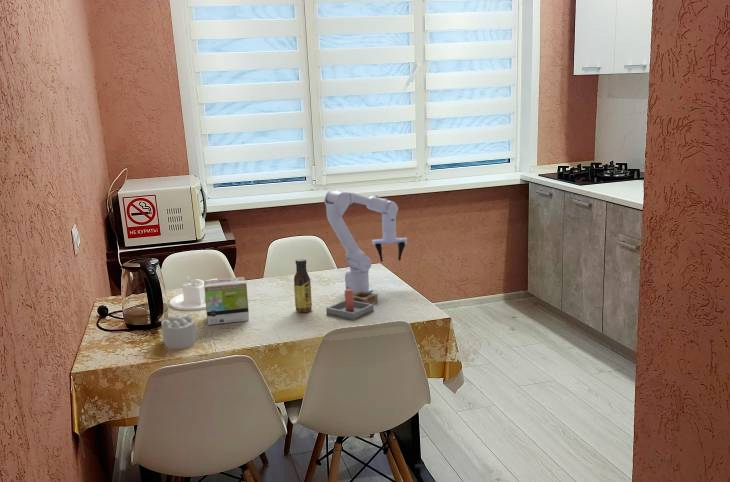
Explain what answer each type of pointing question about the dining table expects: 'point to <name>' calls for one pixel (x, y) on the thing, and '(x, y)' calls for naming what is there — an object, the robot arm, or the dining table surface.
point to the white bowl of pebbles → (178, 331)
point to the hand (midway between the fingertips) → (390, 260)
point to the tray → (358, 312)
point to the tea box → (226, 300)
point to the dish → (191, 296)
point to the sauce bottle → (302, 287)
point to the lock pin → (349, 300)
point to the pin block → (365, 297)
